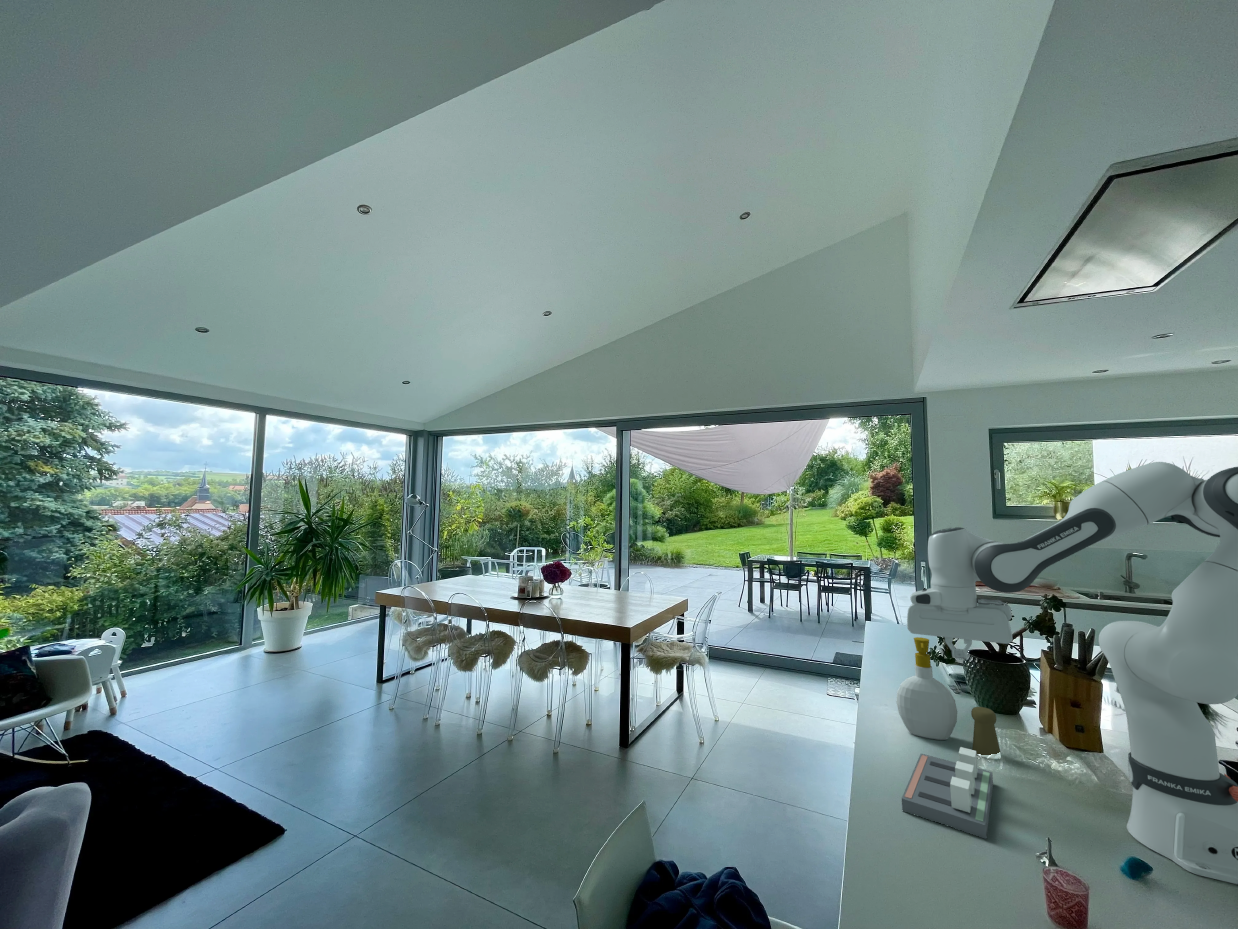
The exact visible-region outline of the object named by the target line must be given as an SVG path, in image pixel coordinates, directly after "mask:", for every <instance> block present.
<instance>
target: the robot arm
mask: <svg viewBox="0 0 1238 929" xmlns="http://www.w3.org/2000/svg"><path fill="white" fill-rule="evenodd" d="M1170 516H1171V517H1173V519H1176V520H1178V521H1180V522H1182V523H1184V524H1186V525H1188V526H1189V527H1191V528H1192V529H1193V530H1195V531H1197V532H1199V533H1201V534H1205V535H1207V536H1210V537H1213V538H1214V537H1215V538H1219V539H1220V540H1219V543H1218V545H1217V547H1216V548H1215V549H1214V551H1213V552H1212V553H1211V554H1210V555H1209V556H1207V557H1206V559H1204V560H1203V561H1202V562H1201V563H1200V564H1199V565H1198V566H1197V567H1196V568H1195V569H1194V570H1192V572H1191V573H1190V574H1189V575H1188V576H1187V577H1186V578H1184V580H1183V581H1182V582H1181V583H1180V584H1179V585H1177V586H1176V588H1174V590H1173V591H1172V592H1171V600H1172V605H1171V608H1170V610H1169V613H1168V615H1167V617H1166V619H1165V620H1164V622H1163V623H1161V625H1160V626H1158V625H1155V624H1151V623H1148V622H1144V621H1141V620H1139V621H1138V620H1116V621H1113V622H1110V623H1108V624H1106V625H1105V626H1104V627H1103V628H1102V629H1101V630H1100V632H1099V635H1098V645H1099V648H1100V650H1101V652H1102V654H1103V655H1104V656H1105V658H1106V660H1107V661H1108V663H1109V667H1110V670H1111V672H1112V674H1113V675H1112V676H1113V678H1114V681H1115V683H1116V686H1117V689H1118V692H1119V695H1120V697H1121V701H1122V704H1123V706H1124V711H1125V716H1126V721H1127V731H1128V738H1129V740H1128V741H1129V747H1130V748H1129V749H1130V752H1128V754H1127V755H1128V757H1127V758H1128V759H1127V768H1128V775H1129V776H1128V777H1129V782H1130V784H1131V786H1132V801H1131V808H1130V814H1129V816H1128V821H1127V823H1126V830H1127V831H1128V833H1129V834H1130V835H1131V836H1132V838H1134V839H1135V840H1136V841H1137V842H1139V843H1141V844H1142V845H1143V846H1145V847H1147V848H1149V849H1151V850H1152V851H1154V852H1156V853H1158V854H1160V855H1162V856H1163V857H1165V858H1167V859H1170V860H1171V861H1173V863H1175V864H1177V865H1178V866H1179V867H1181V868H1183V869H1184V870H1186V871H1187V872H1190V873H1192V874H1195V875H1197V876H1202V877H1205V878H1210V879H1215V880H1218V881H1221V882H1226V883H1231V884H1234V885H1238V783H1237V782H1235V781H1234V780H1233V779H1231V777H1230V776H1228V775H1227V774H1226V773H1224V774H1223V773H1221V772H1220V767H1219V758H1218V750H1217V742H1216V733H1215V730H1214V728H1213V727H1212V725H1211V723H1210V722H1209V721H1208V719H1207V718H1206V717H1205V714H1203V712H1202V710H1201V708H1200V706H1199V704H1204V705H1220V704H1221V705H1222V704H1225V703H1229V702H1230V701H1232V700H1233V699H1235V698H1236V697H1237V696H1238V466H1234V467H1230V468H1225V469H1222V470H1219V471H1218V472H1216V473H1214V474H1213V475H1211V476H1210V477H1209V478H1207V479H1204V478H1200V477H1199V478H1198V477H1195V476H1193V475H1190V474H1189V473H1188V472H1187V471H1186V470H1185V469H1183V468H1181V467H1180V466H1177V465H1175V464H1173V463H1170V462H1166V461H1154V462H1150V463H1146V464H1143V465H1142V464H1141V465H1139V466H1136V467H1133V468H1131V469H1128V470H1125V471H1123V472H1120V473H1117V474H1115V475H1113V476H1111V477H1108V478H1105V479H1103V480H1102V481H1100V482H1098V483H1096V484H1094V485H1092V486H1090V487H1089V488H1087V489H1085V490H1084V491H1082V492H1081V493H1079V494H1078V495H1077V496H1076V497H1074V498H1073V499H1072V500H1071V501H1070V503H1069V505H1068V511H1067V513H1066V514H1065V516H1064V517H1063V518H1061V520H1060V521H1058V522H1056V523H1055V524H1053V525H1051V526H1049V527H1048V528H1045V529H1043V530H1041V531H1039V532H1037V533H1035V534H1034V535H1031V536H1028V537H1027V538H1026V539H1023V540H1020V541H1017V542H1013V543H1005V542H1000V541H996V540H993V539H989V538H986V537H983V536H980V535H978V534H976V533H973V532H971V531H970V530H967V529H966V528H965V527H961V526H960V527H959V526H958V527H949V528H943V529H939V530H936V531H933V532H932V533H931V534H930V535H929V537H928V541H927V559H928V567H929V569H930V572H931V578H930V587H929V588H926V589H922V590H917V591H915V592H912V594H910V602H911V604H910V606H908V609H907V615H906V618H907V619H906V625H907V626H906V627H907V630H908V631H909V632H910V634H914V635H921V636H924V635H925V636H930V637H940V638H942V637H943V638H944V643H946V645H947V647H948V648H949V649H950V651H951V656H952V658H957V659H961V660H968V658H969V655H968V651H969V649H970V648H971V647H972V644H973V641H977V642H986V643H997V644H1003V645H1004V644H1005V645H1009V644H1010V643H1011V642H1012V641H1013V633H1012V628H1011V623H1010V620H1011V619H1012V618H1013V617H1012V616H1013V615H1012V608H1011V607H1010V605H1008V603H1006V602H1003V601H1002V600H1000V599H987V598H986V599H985V598H977V597H978V596H977V587H976V582H980V581H981V582H982V584H983V585H985V586H986V587H987V588H989V589H991V590H994V591H995V592H998V593H1004V594H1006V593H1007V594H1010V593H1012V594H1013V593H1019V592H1021V591H1024V590H1025V589H1027V588H1028V587H1030V586H1031V585H1032V584H1033V583H1034V581H1035V580H1036V579H1037V578H1038V577H1039V575H1040V574H1041V573H1042V572H1044V571H1045V569H1047V568H1048V567H1051V566H1052V565H1054V564H1056V563H1057V562H1061V561H1062V560H1064V559H1067V558H1068V557H1070V556H1072V555H1075V554H1076V553H1079V552H1080V551H1082V550H1084V549H1086V548H1089V547H1091V546H1093V545H1096V544H1099V543H1101V542H1105V541H1107V540H1110V539H1114V538H1118V537H1121V536H1124V535H1127V534H1129V533H1131V532H1135V531H1137V530H1140V529H1142V528H1143V527H1146V526H1148V525H1151V524H1152V523H1156V522H1157V521H1159V520H1162V519H1164V518H1167V517H1170ZM954 639H959V640H960V639H961V640H963V644H964V645H965V647H964V648H963V649H962V648H956V646H954V644H953V641H954ZM1198 703H1199V704H1198Z"/></svg>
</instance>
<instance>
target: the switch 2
mask: <svg viewBox="0 0 1238 929" xmlns="http://www.w3.org/2000/svg"><path fill="white" fill-rule="evenodd" d="M950 790H951V803H952V807H953V808H956V809H959V810H962V811H966V812H969V813H970V811H971V805H972V802H971V789H970V781H967V780H963V779H960V778H956V777H953V776H952V779H951V783H950Z"/></svg>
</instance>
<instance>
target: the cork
mask: <svg viewBox="0 0 1238 929" xmlns="http://www.w3.org/2000/svg"><path fill="white" fill-rule="evenodd" d="M970 714H971V717H972V720H974V724H973V737H972V749H971V750H975V751H976V754H981V755H991V754H997V753H999V752H1001V749H1000V744H999V738H998V735H997V731H996V726H995V724H997V723H996V722H997V715H996V713H995V712H994V711H993V710H992V709H991V708H987V707H985V706H984V707H983V706H974V707H972V709H971V712H970Z"/></svg>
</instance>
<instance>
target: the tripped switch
mask: <svg viewBox="0 0 1238 929" xmlns="http://www.w3.org/2000/svg"><path fill="white" fill-rule="evenodd" d="M955 774H956V778H960V779H963V780H967V781H970V789H971V794H974V792H975V776H974V765H970V764H967V763H963V762H959V760H957V761H956V766H955Z"/></svg>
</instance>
